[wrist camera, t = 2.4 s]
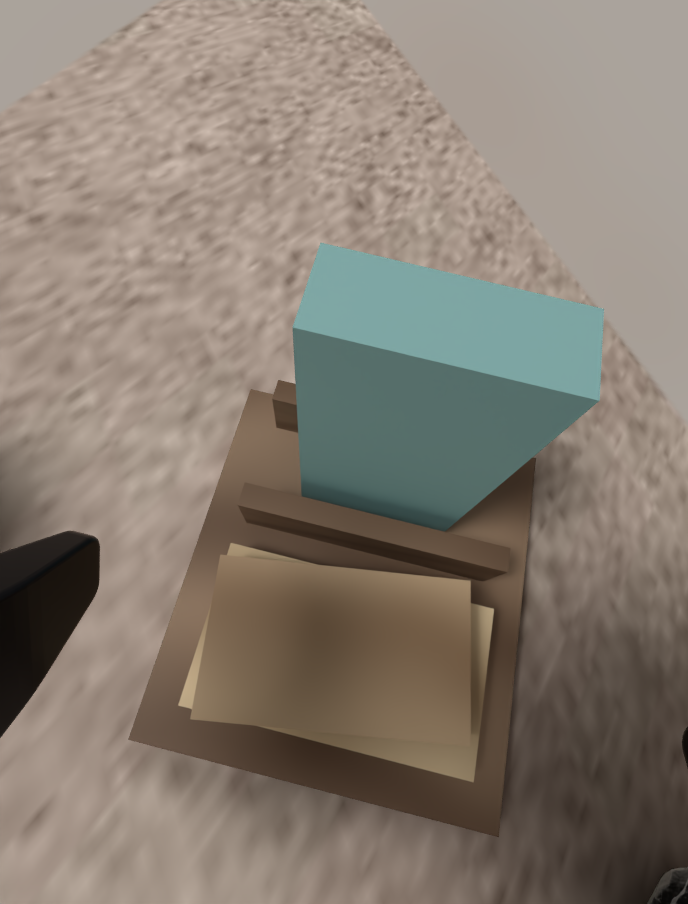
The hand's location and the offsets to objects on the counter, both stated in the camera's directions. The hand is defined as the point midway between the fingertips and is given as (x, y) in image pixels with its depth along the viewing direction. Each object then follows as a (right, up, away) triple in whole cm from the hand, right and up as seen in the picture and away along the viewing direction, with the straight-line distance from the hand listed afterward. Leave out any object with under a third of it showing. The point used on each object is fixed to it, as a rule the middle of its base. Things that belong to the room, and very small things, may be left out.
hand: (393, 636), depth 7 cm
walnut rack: (0, -2, +12) cm, 12 cm away
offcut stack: (-1, -4, +10) cm, 11 cm away
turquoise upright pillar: (+1, +1, +12) cm, 12 cm away
